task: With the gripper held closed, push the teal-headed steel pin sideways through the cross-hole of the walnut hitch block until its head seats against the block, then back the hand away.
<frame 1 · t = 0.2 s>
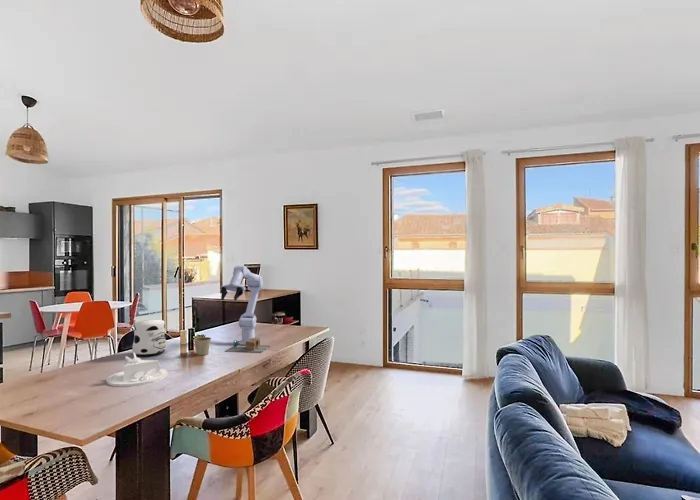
hand: (228, 299, 232), 31 cm above the table, tool tilted 45°, fingers open, 7 cm apart
hitch block: (253, 349, 242), on the table
milk container: (149, 354, 230), on the table
dish: (137, 378, 187), on the table
flower pot: (202, 354, 230), on the table
pin: (244, 343, 242), point 3 cm above the table, slide at 0.0 cm
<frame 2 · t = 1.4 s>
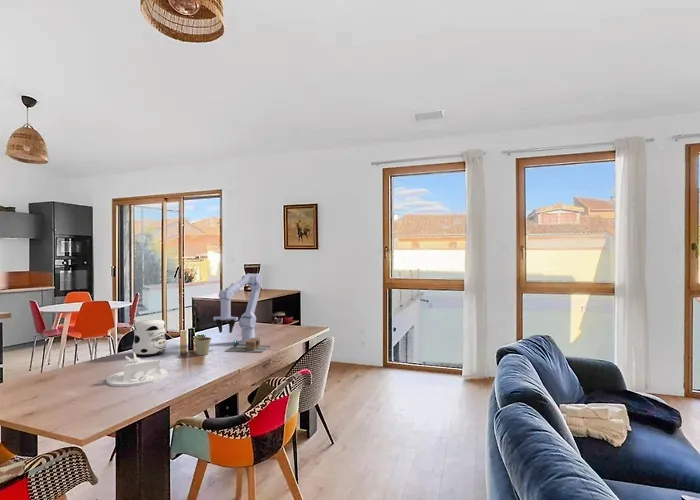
hand: (225, 332, 244), 9 cm above the table, tool pointing down, fingers open, 6 cm apart
nothing on the table moved.
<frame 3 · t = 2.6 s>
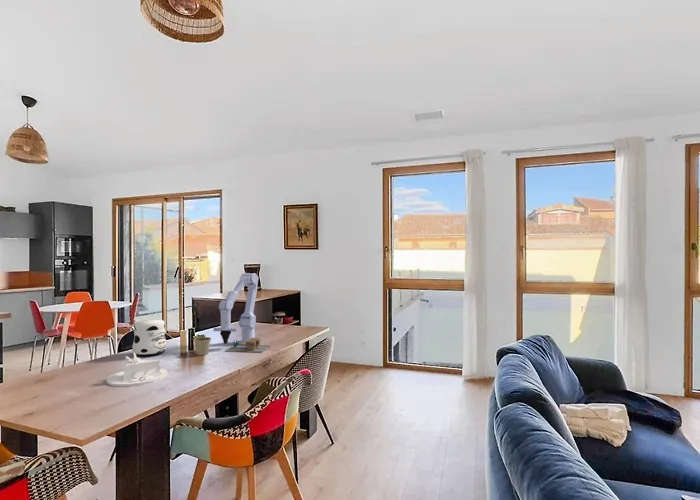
hand: (225, 343, 244), 3 cm above the table, tool pointing down, fingers closed
nothing on the table moved.
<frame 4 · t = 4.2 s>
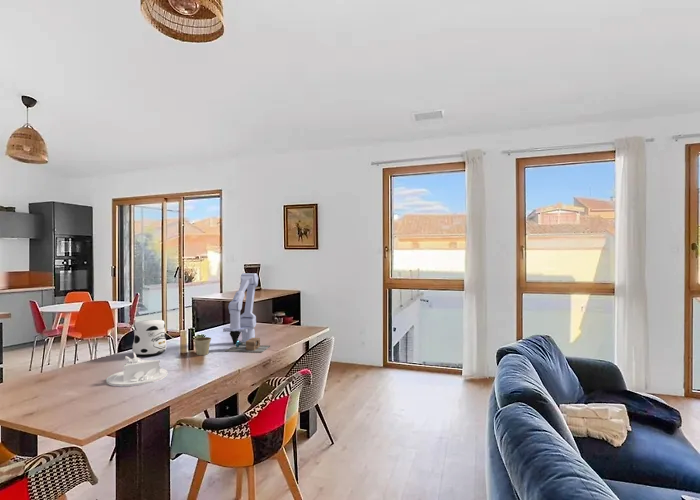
hand: (235, 343, 243), 3 cm above the table, tool pointing down, fingers closed
pin: (246, 343, 242), point 3 cm above the table, slide at 1.6 cm, touching gripper
everything else where it was.
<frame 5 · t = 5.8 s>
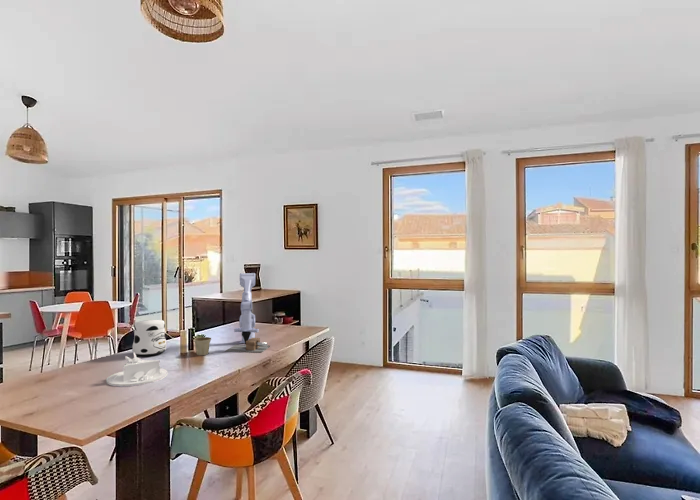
hand: (246, 344, 242), 3 cm above the table, tool pointing down, fingers closed
pin: (257, 344, 241), point 3 cm above the table, slide at 8.1 cm, touching gripper, hitch block
everything else where it was.
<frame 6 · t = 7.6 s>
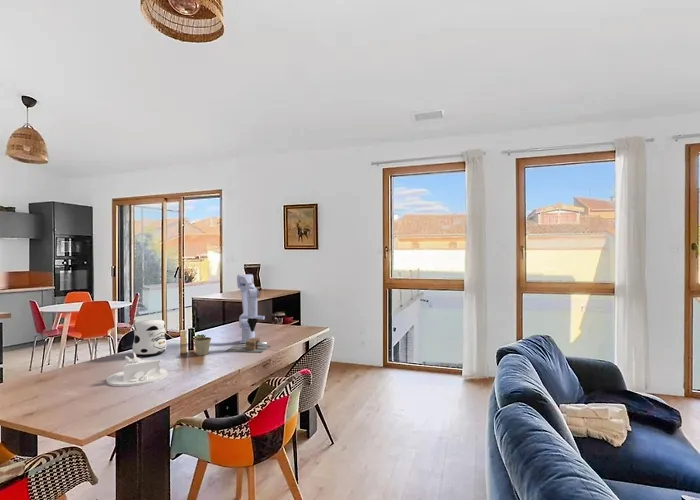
hand: (252, 331, 245), 10 cm above the table, tool pointing down, fingers closed
pin: (257, 344, 241), point 3 cm above the table, slide at 8.0 cm
everything else where it was.
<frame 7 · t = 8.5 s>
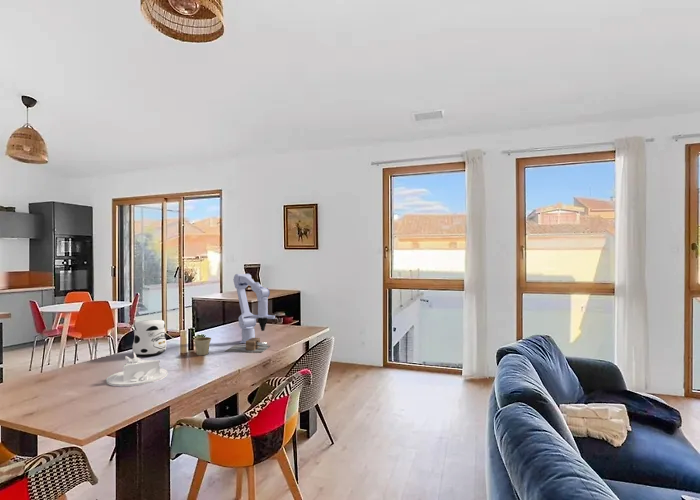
hand: (262, 330, 247), 10 cm above the table, tool pointing down, fingers closed
nothing on the table moved.
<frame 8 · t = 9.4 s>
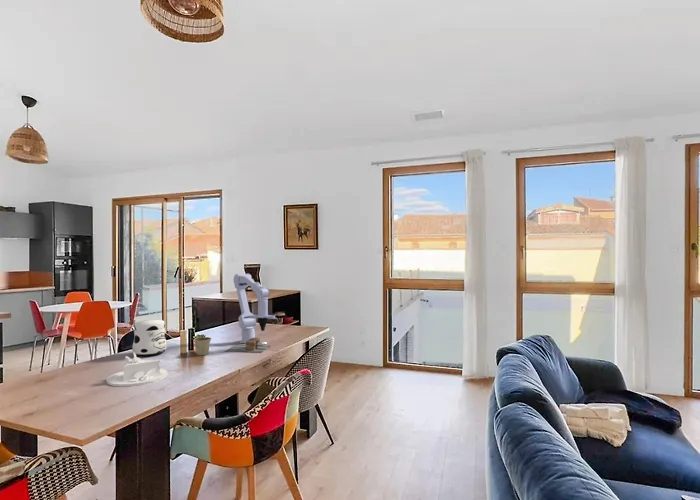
hand: (262, 330, 247), 10 cm above the table, tool pointing down, fingers closed
nothing on the table moved.
at the end: pin slide at 8.0 cm; the gripper is holding nothing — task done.
